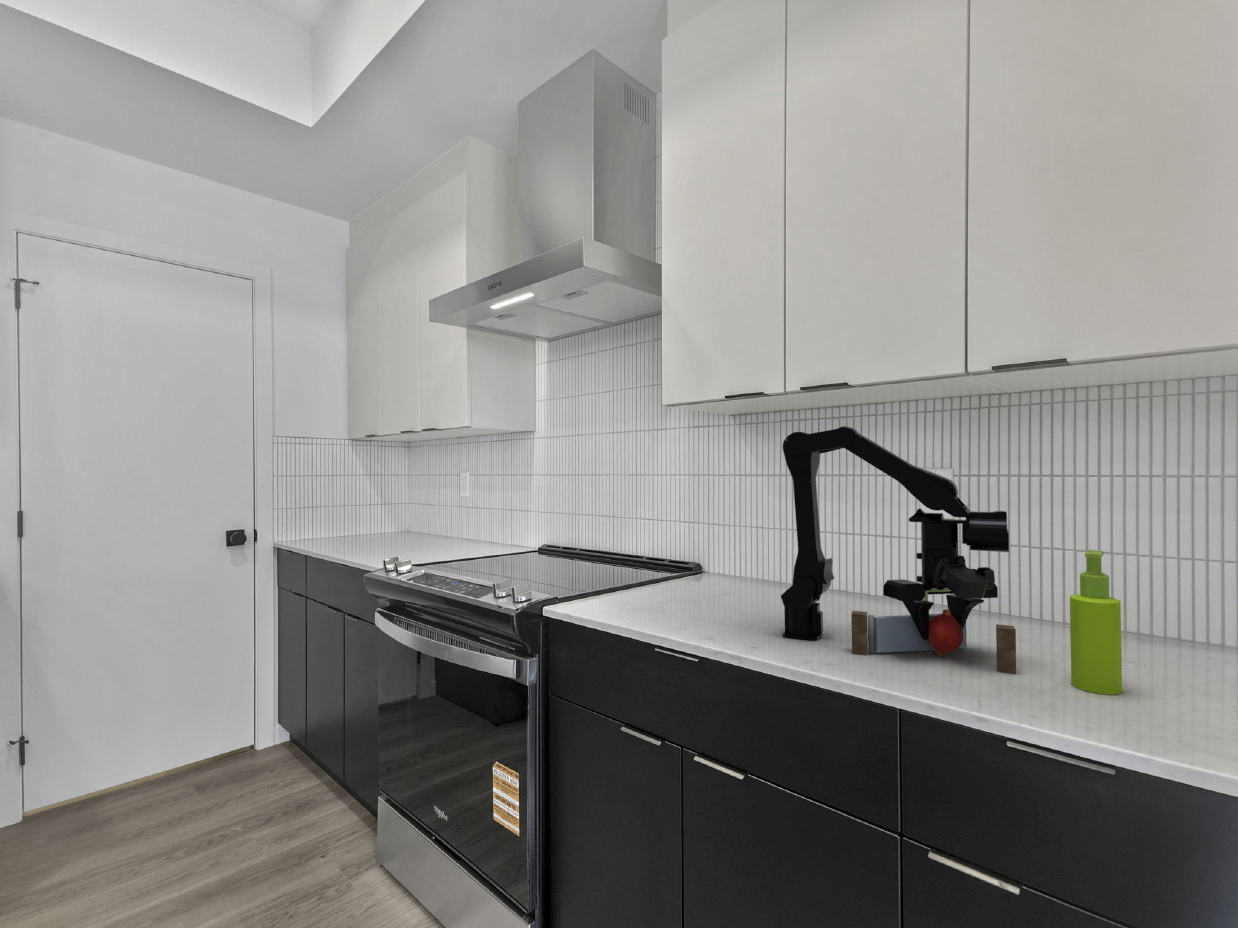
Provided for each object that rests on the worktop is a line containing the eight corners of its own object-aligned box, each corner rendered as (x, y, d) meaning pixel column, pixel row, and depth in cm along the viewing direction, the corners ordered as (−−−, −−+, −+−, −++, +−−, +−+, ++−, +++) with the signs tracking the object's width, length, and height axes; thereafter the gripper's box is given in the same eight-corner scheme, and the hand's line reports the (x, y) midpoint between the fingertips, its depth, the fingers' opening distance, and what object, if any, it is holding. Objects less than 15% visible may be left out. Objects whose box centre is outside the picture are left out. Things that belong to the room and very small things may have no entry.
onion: (926, 647, 108) (933, 603, 108) (962, 658, 104) (969, 612, 104) (918, 652, 103) (925, 606, 103) (956, 662, 100) (963, 615, 100)
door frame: (851, 654, 105) (851, 614, 106) (853, 649, 108) (852, 610, 108) (1016, 673, 94) (1015, 629, 95) (1013, 668, 97) (1013, 625, 97)
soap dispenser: (1123, 684, 90) (1120, 550, 90) (1121, 698, 84) (1118, 555, 85) (1074, 675, 93) (1071, 547, 94) (1069, 688, 88) (1066, 552, 88)
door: (870, 653, 105) (870, 616, 105) (866, 651, 106) (866, 614, 106) (966, 647, 108) (966, 611, 108) (961, 645, 109) (961, 610, 109)
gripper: (925, 555, 95) (926, 654, 95) (1024, 552, 99) (1026, 648, 98) (880, 547, 106) (881, 636, 106) (971, 545, 110) (973, 631, 109)
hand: (940, 638), depth 105 cm, fingers closed on onion, 6 cm apart
